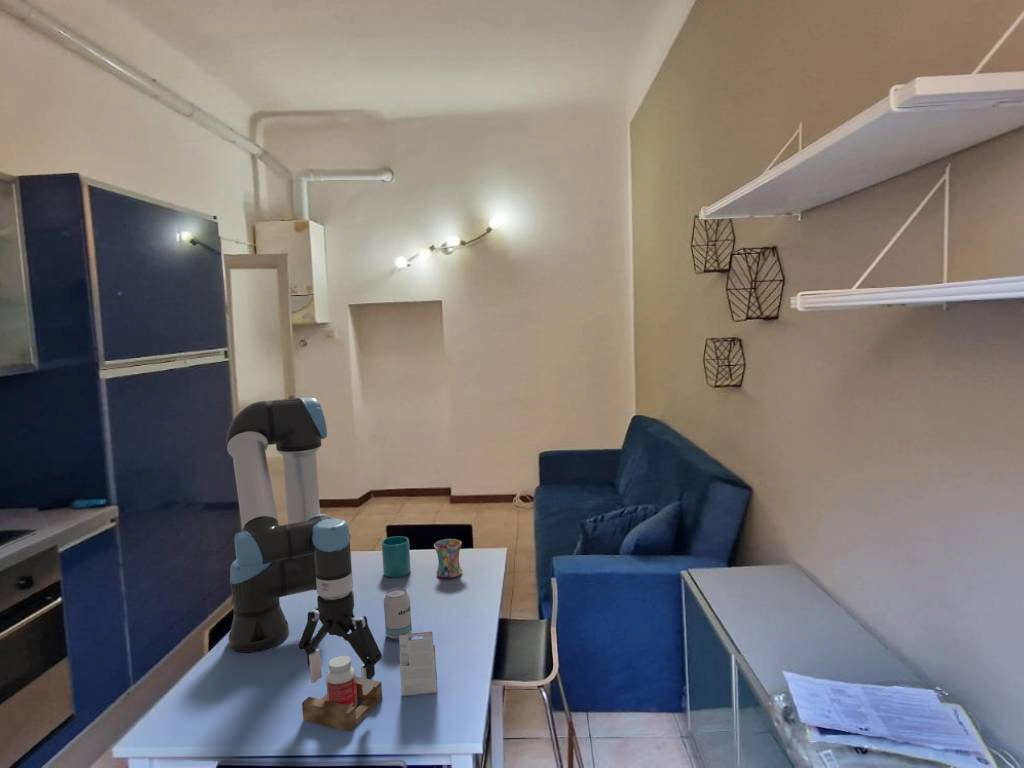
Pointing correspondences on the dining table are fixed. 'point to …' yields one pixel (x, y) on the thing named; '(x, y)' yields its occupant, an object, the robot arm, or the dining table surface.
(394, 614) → the beverage can
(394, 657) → the dining table surface
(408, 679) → the ink box
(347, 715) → the walnut holder
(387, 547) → the cup
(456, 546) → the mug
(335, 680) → the pill bottle
